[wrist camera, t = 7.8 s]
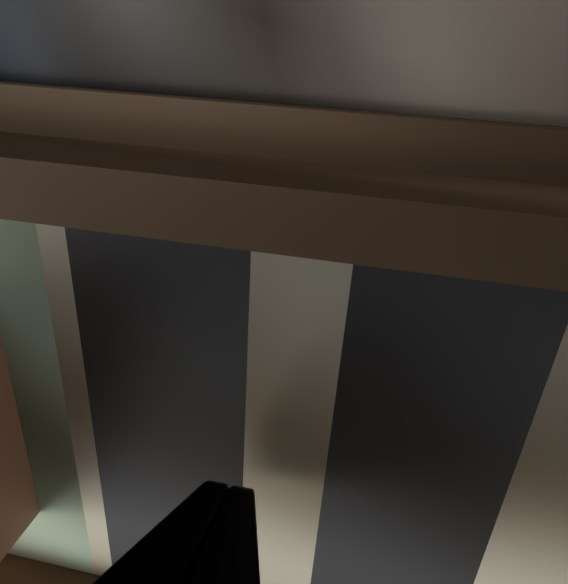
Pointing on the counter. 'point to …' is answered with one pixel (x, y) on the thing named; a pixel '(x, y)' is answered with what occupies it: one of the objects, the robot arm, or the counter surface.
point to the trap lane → (287, 333)
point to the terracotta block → (13, 468)
